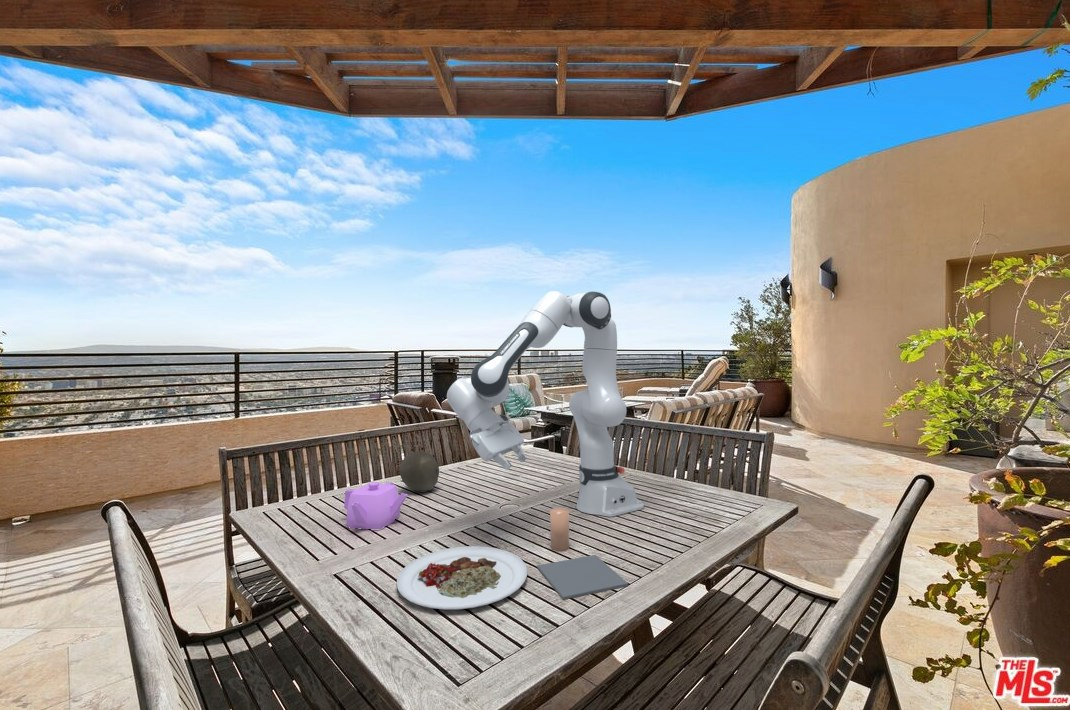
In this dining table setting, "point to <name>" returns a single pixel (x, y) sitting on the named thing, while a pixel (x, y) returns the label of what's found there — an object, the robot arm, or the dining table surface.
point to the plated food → (462, 577)
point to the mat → (581, 576)
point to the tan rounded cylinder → (559, 529)
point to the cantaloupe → (419, 471)
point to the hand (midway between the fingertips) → (516, 464)
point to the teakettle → (373, 505)
